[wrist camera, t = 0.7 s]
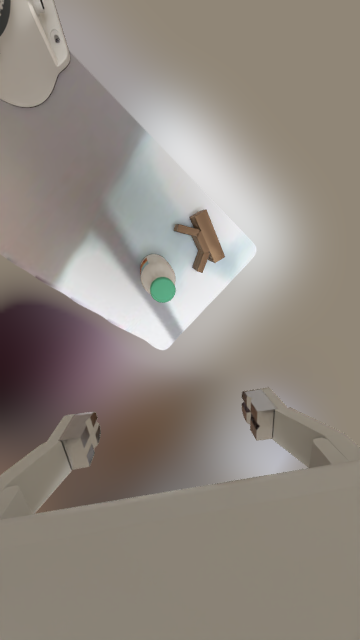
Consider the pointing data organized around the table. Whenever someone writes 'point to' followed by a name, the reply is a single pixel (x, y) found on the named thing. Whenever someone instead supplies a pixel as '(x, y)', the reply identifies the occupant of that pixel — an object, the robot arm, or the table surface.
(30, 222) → the table surface
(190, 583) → the robot arm
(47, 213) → the table surface
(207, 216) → the cradle
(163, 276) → the milk bottle
